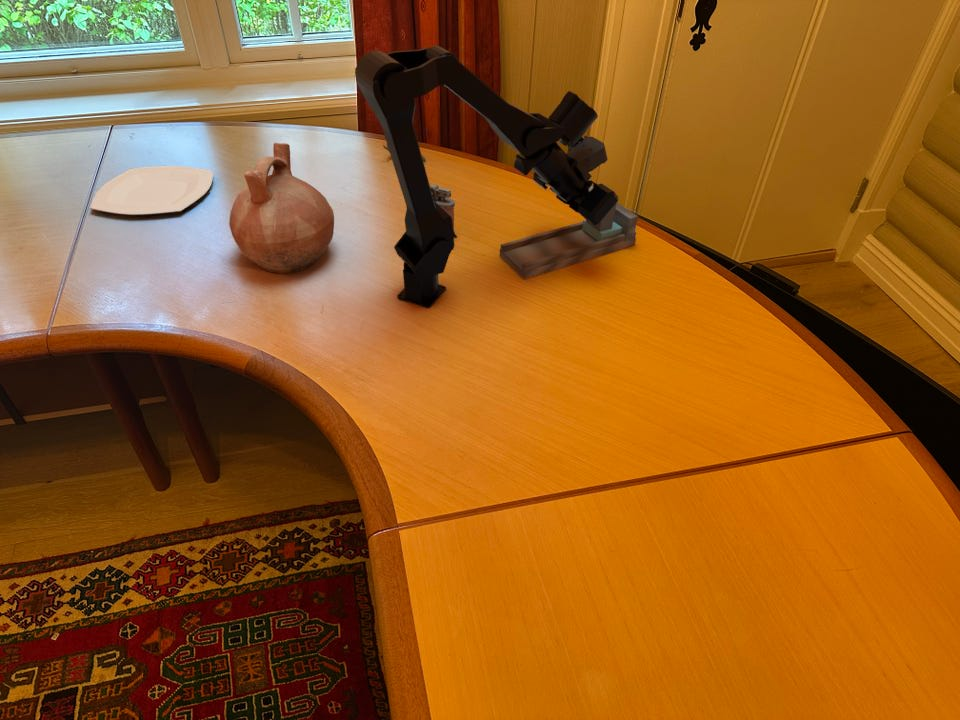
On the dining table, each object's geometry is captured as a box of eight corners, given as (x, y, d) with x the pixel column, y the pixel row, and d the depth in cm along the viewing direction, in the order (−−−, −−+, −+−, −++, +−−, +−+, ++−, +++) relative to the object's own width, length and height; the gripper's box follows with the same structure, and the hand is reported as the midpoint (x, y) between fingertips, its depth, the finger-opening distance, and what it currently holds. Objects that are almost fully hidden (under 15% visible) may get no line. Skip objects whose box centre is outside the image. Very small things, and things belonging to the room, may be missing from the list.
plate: (190, 224, 124) (187, 215, 122) (77, 220, 124) (73, 212, 123) (227, 175, 141) (225, 167, 140) (129, 172, 141) (125, 164, 140)
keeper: (600, 243, 117) (606, 206, 112) (582, 229, 121) (587, 193, 116) (620, 236, 119) (627, 200, 114) (601, 223, 123) (607, 188, 118)
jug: (315, 290, 107) (294, 184, 93) (221, 277, 109) (188, 171, 96) (353, 238, 120) (339, 138, 107) (268, 227, 123) (244, 129, 109)
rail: (524, 279, 110) (527, 248, 106) (499, 256, 116) (500, 225, 112) (634, 245, 120) (641, 215, 116) (606, 225, 126) (611, 196, 122)
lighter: (415, 231, 123) (412, 185, 116) (424, 224, 125) (422, 178, 118) (449, 241, 120) (449, 194, 113) (458, 234, 122) (457, 187, 116)
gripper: (619, 146, 96) (656, 197, 108) (553, 109, 108) (593, 158, 120) (573, 202, 98) (614, 245, 110) (512, 159, 110) (555, 203, 122)
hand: (594, 210), depth 115 cm, fingers closed, pressing on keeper
